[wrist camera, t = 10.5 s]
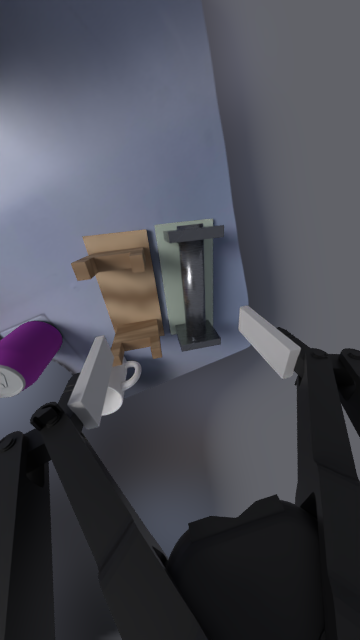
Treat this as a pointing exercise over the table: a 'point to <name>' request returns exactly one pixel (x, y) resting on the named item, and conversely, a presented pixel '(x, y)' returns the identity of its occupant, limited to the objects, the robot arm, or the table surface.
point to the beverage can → (26, 355)
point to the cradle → (125, 289)
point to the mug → (119, 385)
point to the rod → (194, 284)
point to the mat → (173, 273)
